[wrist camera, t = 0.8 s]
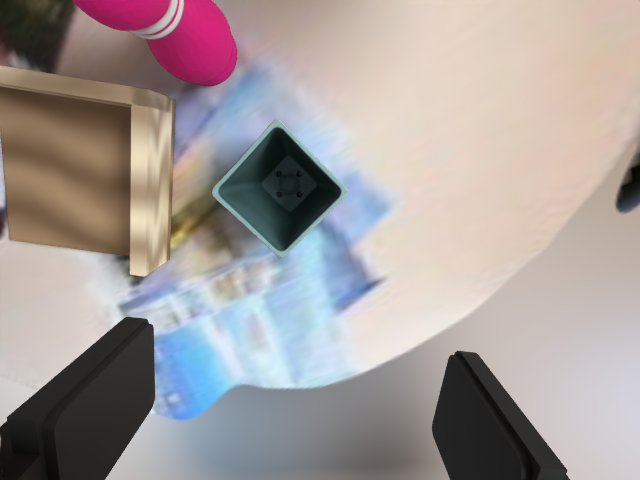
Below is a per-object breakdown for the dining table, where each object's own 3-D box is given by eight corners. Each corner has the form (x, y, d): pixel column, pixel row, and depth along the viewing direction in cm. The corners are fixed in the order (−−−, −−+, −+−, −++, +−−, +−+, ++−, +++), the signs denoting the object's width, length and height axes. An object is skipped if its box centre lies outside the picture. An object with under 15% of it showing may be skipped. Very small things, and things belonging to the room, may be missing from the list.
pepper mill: (222, 0, 33) (82, -225, 13) (253, 73, 34) (169, -32, 15) (159, 31, 33) (-63, -140, 14) (192, 102, 35) (36, 35, 16)
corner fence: (-5, 70, 34) (-60, 56, 29) (172, 98, 34) (148, 89, 29) (9, 239, 38) (-36, 251, 33) (166, 261, 39) (144, 276, 34)
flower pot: (233, 184, 37) (207, 192, 29) (287, 126, 36) (276, 116, 27) (290, 237, 39) (281, 260, 30) (343, 183, 37) (350, 192, 29)
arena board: (2, 72, 34) (-5, 70, 34) (175, 99, 35) (172, 98, 34) (16, 237, 39) (9, 239, 38) (169, 259, 39) (166, 261, 39)
